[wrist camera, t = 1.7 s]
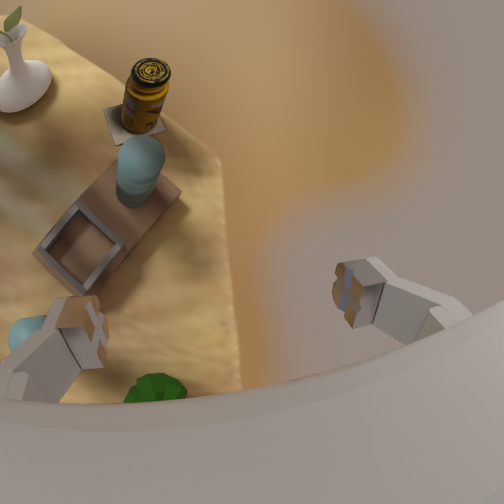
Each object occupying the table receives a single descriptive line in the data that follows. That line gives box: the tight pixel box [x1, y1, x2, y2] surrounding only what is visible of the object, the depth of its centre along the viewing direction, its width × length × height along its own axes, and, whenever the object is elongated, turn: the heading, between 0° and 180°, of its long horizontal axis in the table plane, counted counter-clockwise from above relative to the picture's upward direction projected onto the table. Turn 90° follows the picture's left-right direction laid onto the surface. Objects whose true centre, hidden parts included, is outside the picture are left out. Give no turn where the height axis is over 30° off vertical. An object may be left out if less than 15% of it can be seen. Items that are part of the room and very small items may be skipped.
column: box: [8, 315, 47, 352], centre depth 26 cm, size 5×5×10 cm
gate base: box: [32, 136, 182, 296], centre depth 31 cm, size 20×10×12 cm, turn 144°
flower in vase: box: [0, 6, 52, 113], centre depth 21 cm, size 13×11×25 cm
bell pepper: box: [124, 373, 187, 403], centre depth 31 cm, size 8×8×10 cm
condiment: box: [103, 58, 171, 146], centre depth 35 cm, size 7×8×12 cm
